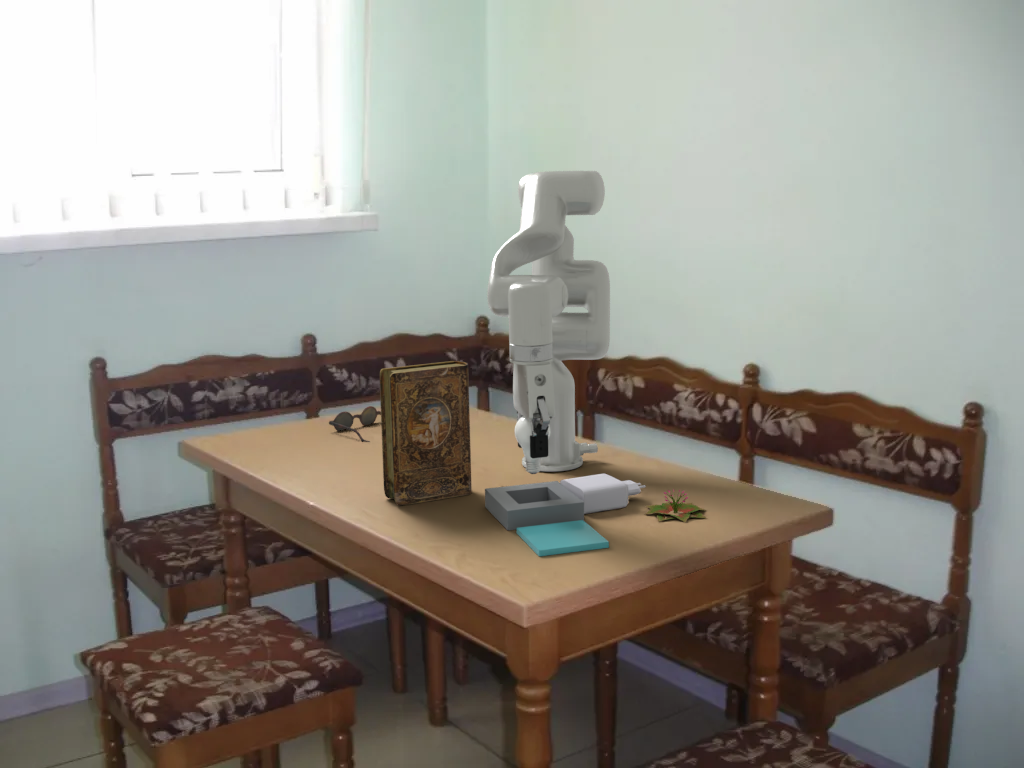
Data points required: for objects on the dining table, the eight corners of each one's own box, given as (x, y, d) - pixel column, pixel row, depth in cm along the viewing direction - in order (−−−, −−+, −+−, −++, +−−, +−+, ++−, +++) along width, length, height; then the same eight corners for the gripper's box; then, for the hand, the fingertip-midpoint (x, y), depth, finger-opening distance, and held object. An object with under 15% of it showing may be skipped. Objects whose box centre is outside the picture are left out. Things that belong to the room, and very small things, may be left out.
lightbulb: (530, 466, 207) (529, 407, 204) (558, 472, 203) (557, 412, 200) (508, 474, 202) (506, 415, 199) (536, 481, 198) (535, 420, 195)
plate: (582, 525, 196) (582, 519, 196) (608, 547, 185) (608, 541, 185) (516, 533, 193) (516, 527, 193) (539, 556, 182) (538, 550, 181)
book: (463, 486, 221) (459, 360, 216) (475, 493, 216) (472, 364, 211) (384, 499, 213) (378, 369, 208) (394, 507, 209) (389, 373, 204)
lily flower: (697, 503, 209) (698, 479, 208) (718, 523, 197) (719, 498, 196) (634, 507, 207) (634, 483, 206) (651, 528, 196) (651, 502, 195)
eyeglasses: (379, 423, 276) (378, 403, 275) (417, 433, 266) (416, 412, 265) (329, 434, 266) (328, 413, 265) (366, 445, 256) (365, 423, 255)
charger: (655, 504, 208) (583, 516, 202) (630, 491, 216) (560, 502, 210) (656, 479, 207) (583, 490, 201) (630, 467, 215) (559, 478, 209)
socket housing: (557, 498, 212) (557, 480, 211) (584, 521, 198) (583, 502, 198) (485, 507, 208) (484, 488, 207) (507, 530, 194) (507, 510, 194)
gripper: (568, 360, 190) (569, 462, 194) (535, 342, 207) (537, 437, 210) (525, 363, 188) (527, 467, 192) (496, 345, 204) (498, 441, 208)
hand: (532, 451), depth 201 cm, fingers closed on lightbulb, 6 cm apart
